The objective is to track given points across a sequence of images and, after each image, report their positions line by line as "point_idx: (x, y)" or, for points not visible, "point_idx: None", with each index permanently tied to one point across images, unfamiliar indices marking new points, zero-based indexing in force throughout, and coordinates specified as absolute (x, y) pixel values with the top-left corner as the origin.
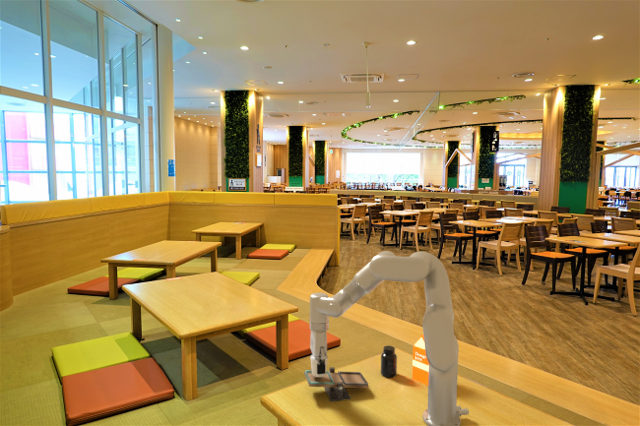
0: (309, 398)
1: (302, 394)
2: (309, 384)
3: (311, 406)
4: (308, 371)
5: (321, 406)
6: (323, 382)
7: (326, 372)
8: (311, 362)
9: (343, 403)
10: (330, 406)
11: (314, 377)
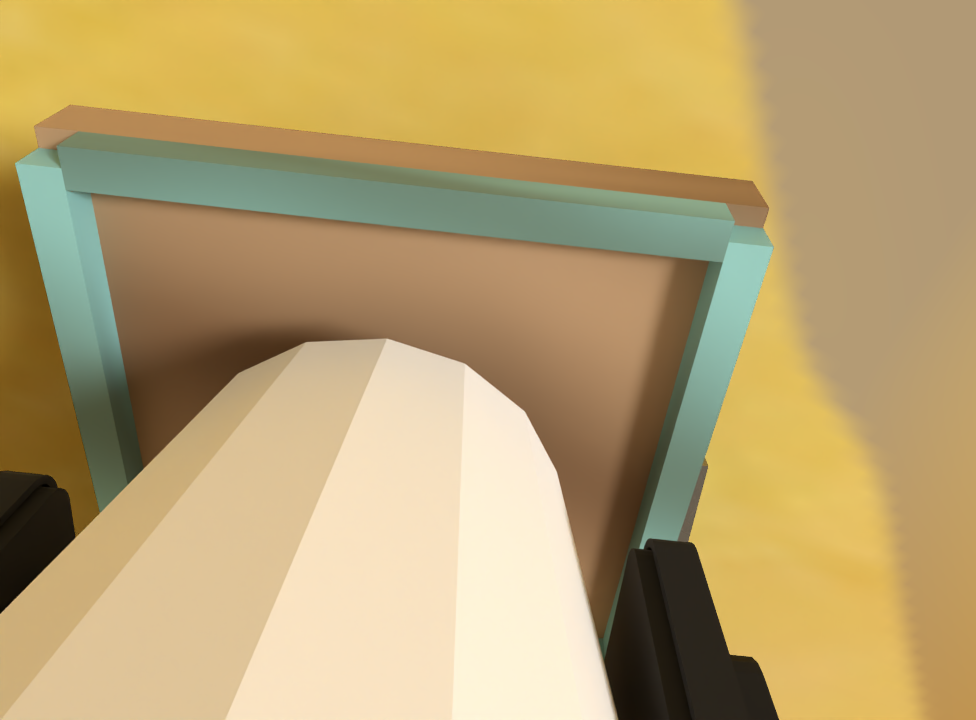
0: (289, 102)
1: (456, 12)
2: (40, 128)
3: (31, 57)
4: (706, 311)
5: (19, 220)
6: (104, 468)
7: (606, 638)
8: (196, 570)
9: (73, 521)
10: (11, 345)
11: None
